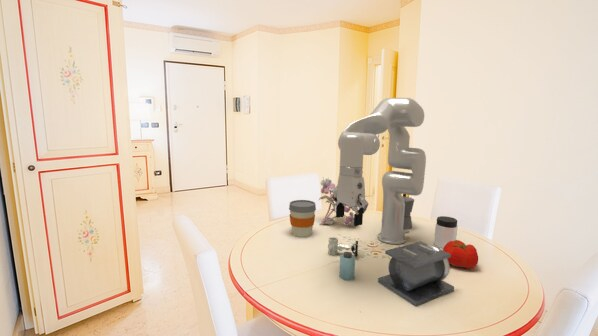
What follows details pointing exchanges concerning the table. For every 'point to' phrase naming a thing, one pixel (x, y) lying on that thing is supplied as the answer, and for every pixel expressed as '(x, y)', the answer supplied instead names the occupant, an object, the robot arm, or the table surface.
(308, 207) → the reusable coffee cup
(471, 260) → the tomato
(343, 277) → the teal cylinder with cap
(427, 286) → the motor
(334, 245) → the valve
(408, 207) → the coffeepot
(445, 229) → the jar
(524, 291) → the table surface
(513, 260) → the table surface
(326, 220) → the flower
